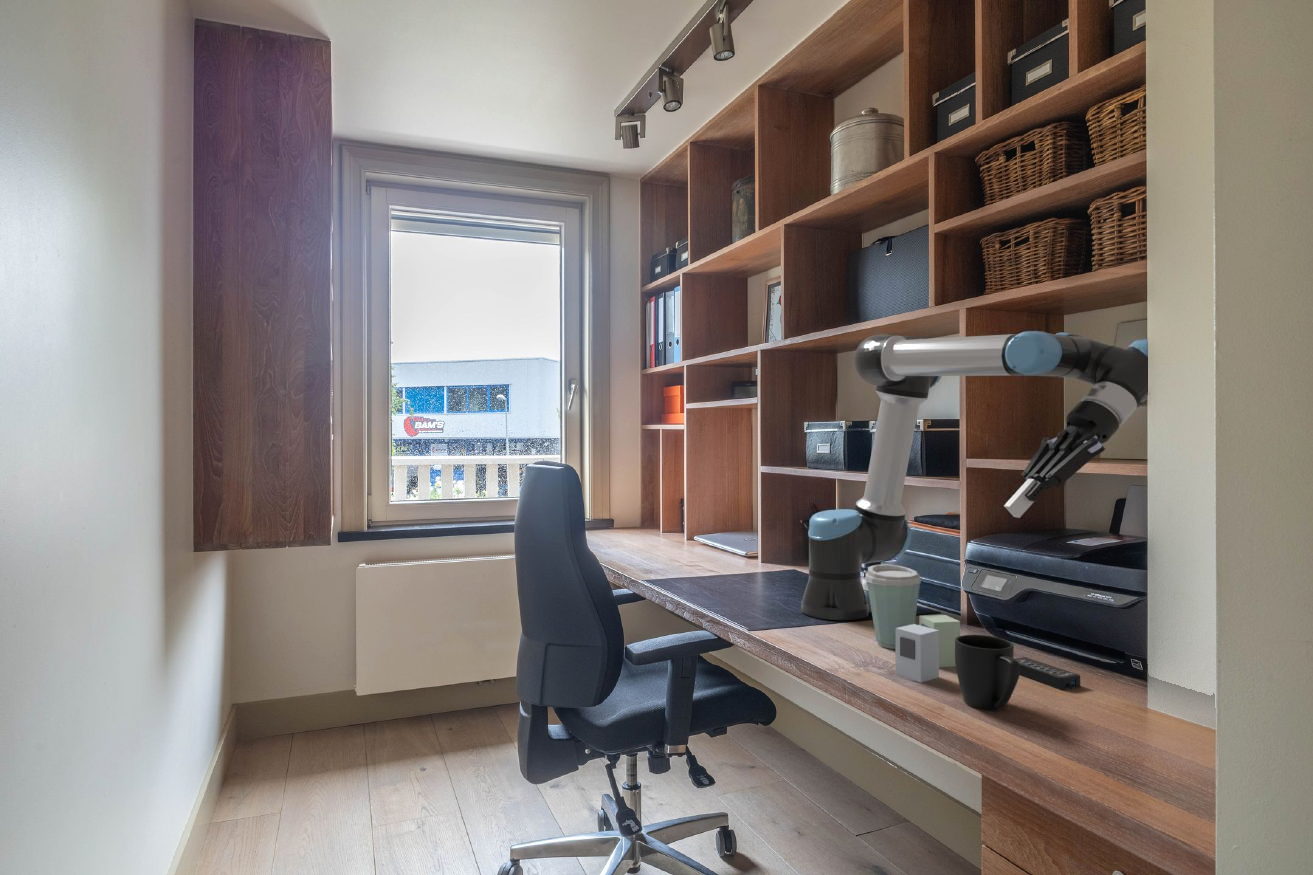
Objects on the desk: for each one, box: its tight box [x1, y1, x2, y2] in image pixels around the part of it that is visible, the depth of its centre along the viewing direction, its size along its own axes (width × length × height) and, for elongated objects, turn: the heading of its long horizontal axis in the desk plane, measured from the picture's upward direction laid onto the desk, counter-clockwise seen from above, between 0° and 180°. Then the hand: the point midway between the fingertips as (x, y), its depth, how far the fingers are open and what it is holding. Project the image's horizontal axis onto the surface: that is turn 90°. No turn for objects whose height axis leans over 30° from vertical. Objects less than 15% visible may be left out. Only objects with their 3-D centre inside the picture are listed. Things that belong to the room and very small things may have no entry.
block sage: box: [918, 614, 961, 668], centre depth 132 cm, size 5×5×8 cm
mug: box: [955, 634, 1020, 711], centre depth 110 cm, size 8×12×10 cm
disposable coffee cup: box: [864, 564, 922, 650], centre depth 143 cm, size 11×11×15 cm
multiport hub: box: [1014, 656, 1081, 691], centre depth 123 cm, size 4×11×2 cm, turn 22°
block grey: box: [895, 623, 940, 684], centre depth 125 cm, size 5×5×8 cm
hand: (1011, 511), depth 124 cm, fingers closed
